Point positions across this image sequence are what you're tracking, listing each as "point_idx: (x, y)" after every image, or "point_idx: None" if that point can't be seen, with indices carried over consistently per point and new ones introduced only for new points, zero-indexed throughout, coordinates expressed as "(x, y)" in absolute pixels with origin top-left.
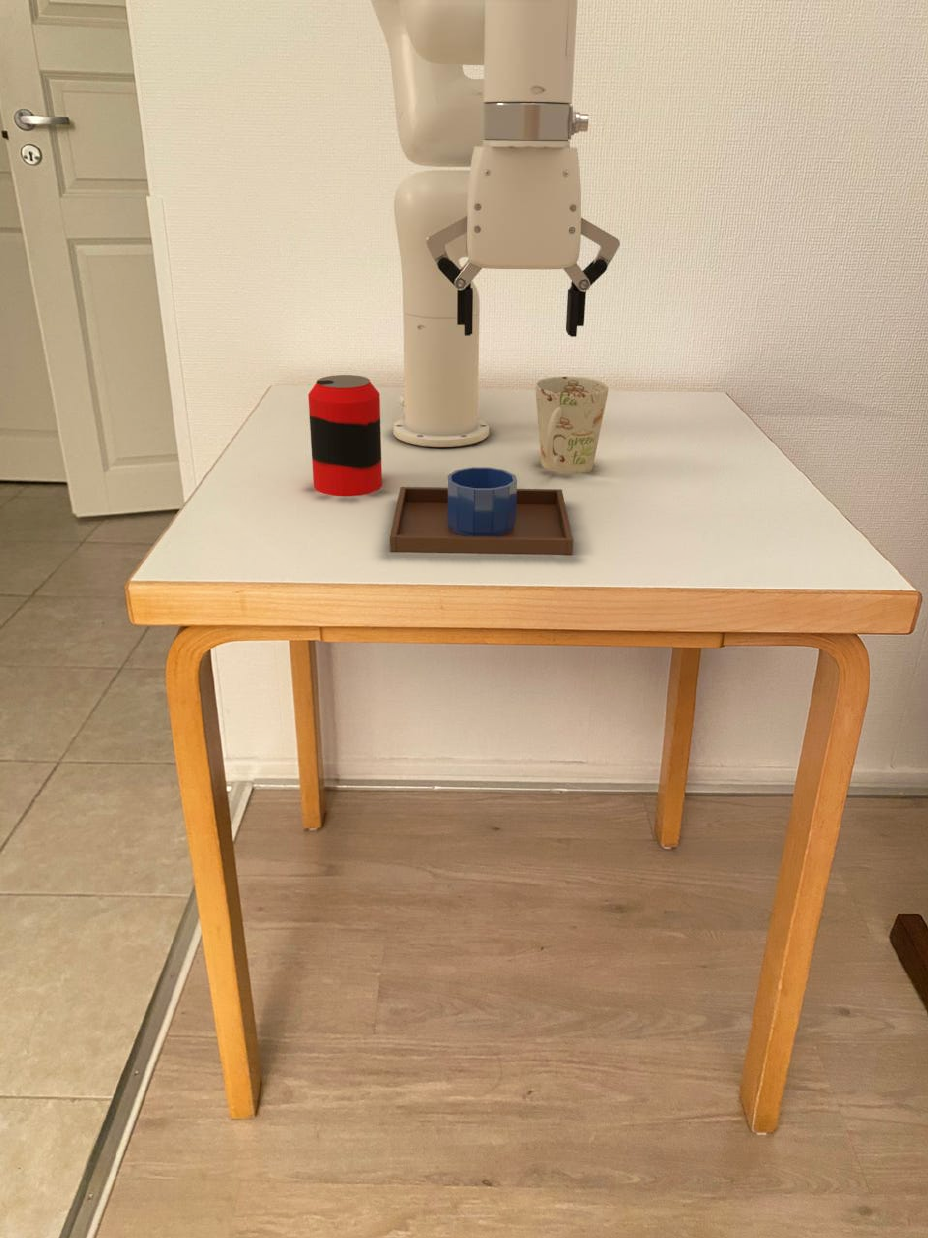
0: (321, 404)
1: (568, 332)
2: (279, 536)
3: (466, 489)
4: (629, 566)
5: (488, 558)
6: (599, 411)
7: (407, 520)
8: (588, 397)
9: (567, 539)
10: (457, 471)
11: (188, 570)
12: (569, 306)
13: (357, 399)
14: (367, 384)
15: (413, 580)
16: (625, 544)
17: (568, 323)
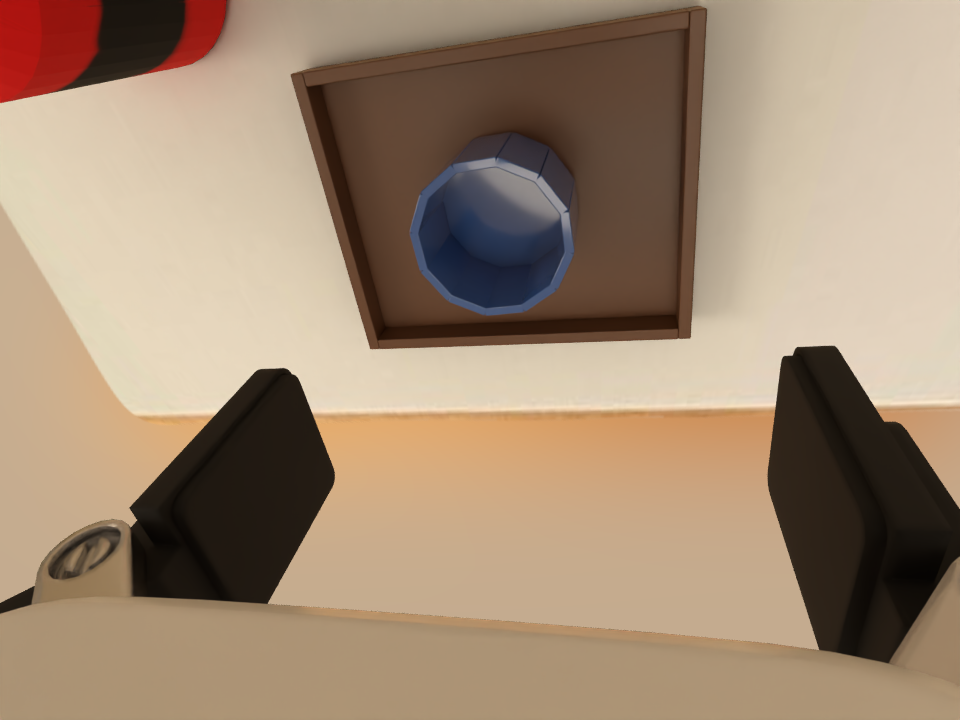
0: None
1: (770, 475)
2: (187, 271)
3: (468, 308)
4: (792, 336)
5: None
6: None
7: (360, 198)
8: None
9: (679, 337)
10: (425, 203)
11: (155, 388)
12: (809, 560)
13: (18, 75)
14: None
15: (438, 401)
16: (816, 237)
17: (783, 484)
